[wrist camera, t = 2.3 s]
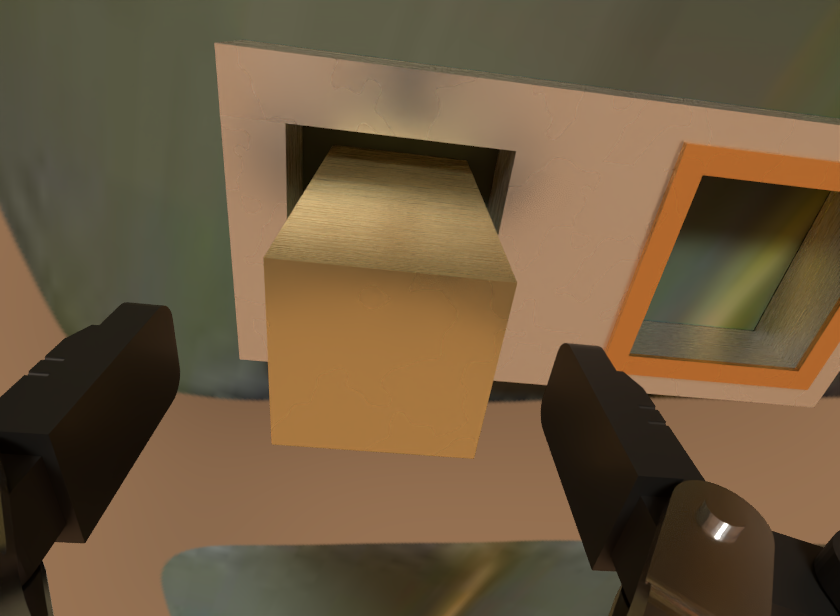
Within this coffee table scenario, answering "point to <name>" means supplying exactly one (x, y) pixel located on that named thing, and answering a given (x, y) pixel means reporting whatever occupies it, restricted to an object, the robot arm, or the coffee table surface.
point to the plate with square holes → (556, 207)
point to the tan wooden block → (385, 307)
